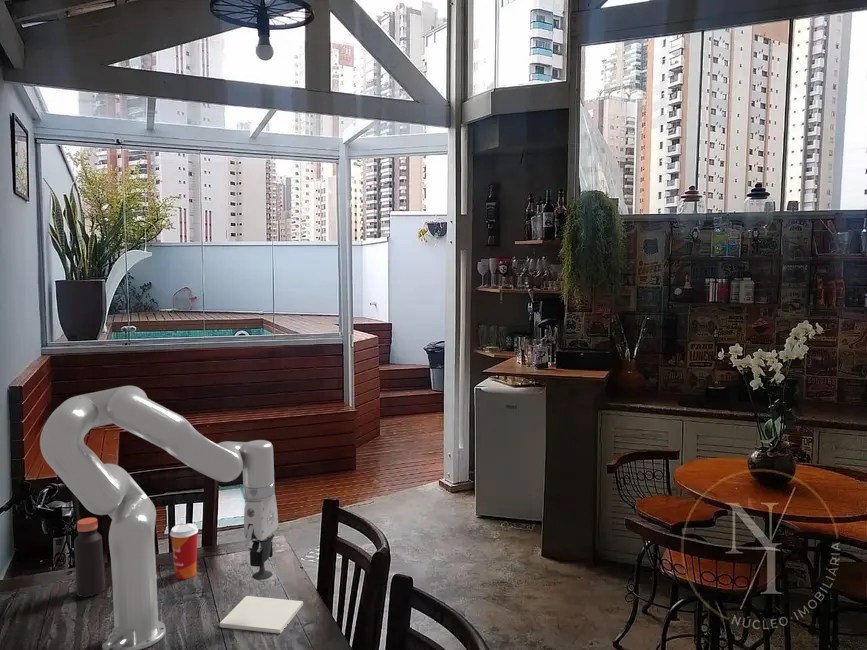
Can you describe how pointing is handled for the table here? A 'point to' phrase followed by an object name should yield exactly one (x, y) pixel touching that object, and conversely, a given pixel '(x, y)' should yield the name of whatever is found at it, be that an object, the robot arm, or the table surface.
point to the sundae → (264, 558)
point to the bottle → (89, 558)
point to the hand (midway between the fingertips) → (261, 560)
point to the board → (262, 614)
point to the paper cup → (184, 550)
